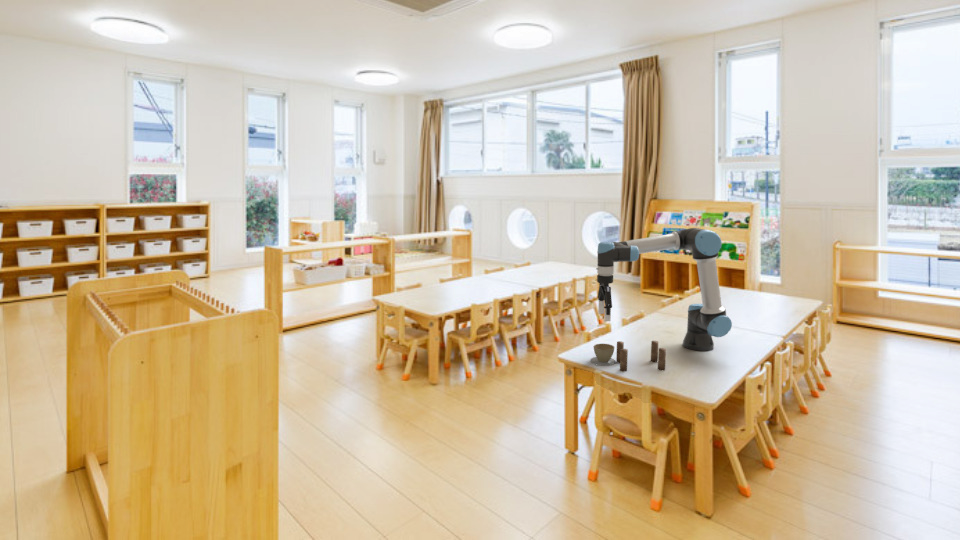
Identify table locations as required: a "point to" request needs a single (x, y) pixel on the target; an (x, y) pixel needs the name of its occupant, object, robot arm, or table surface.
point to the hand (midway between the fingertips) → (604, 317)
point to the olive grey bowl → (603, 352)
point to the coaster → (596, 361)
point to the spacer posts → (661, 358)
